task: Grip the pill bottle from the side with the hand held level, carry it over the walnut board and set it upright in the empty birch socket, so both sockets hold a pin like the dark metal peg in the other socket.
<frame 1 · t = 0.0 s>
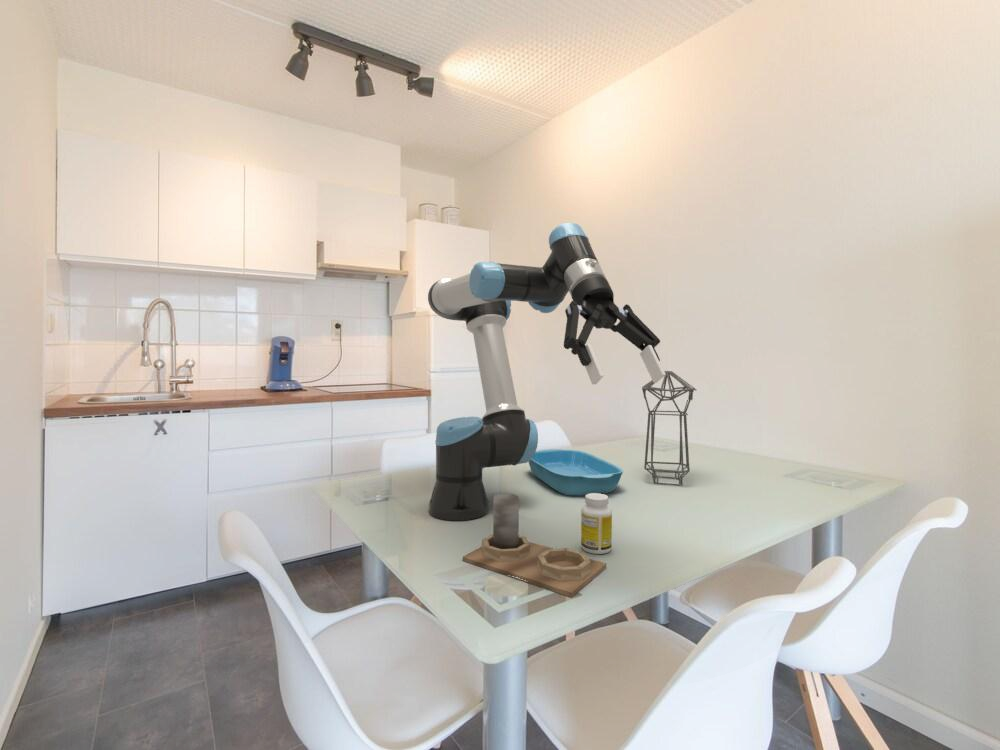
hand: (630, 379, 85), 36 cm above the table, tool tilted 35°, fingers open, 13 cm apart
geometric lantern: (665, 481, 155), on the table
socket board: (533, 564, 93), on the table
casserole dish: (571, 483, 152), on the table
pill bottle: (595, 549, 101), on the table
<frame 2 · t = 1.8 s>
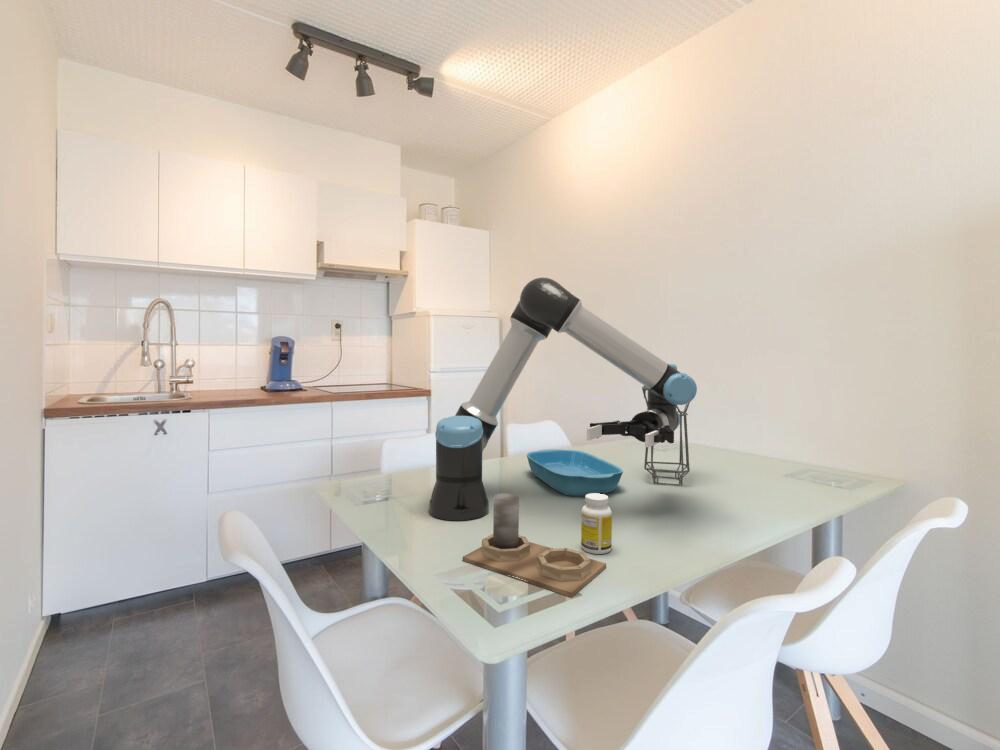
hand: (616, 437, 108), 22 cm above the table, tool horizontal, fingers open, 13 cm apart
nothing on the table moved.
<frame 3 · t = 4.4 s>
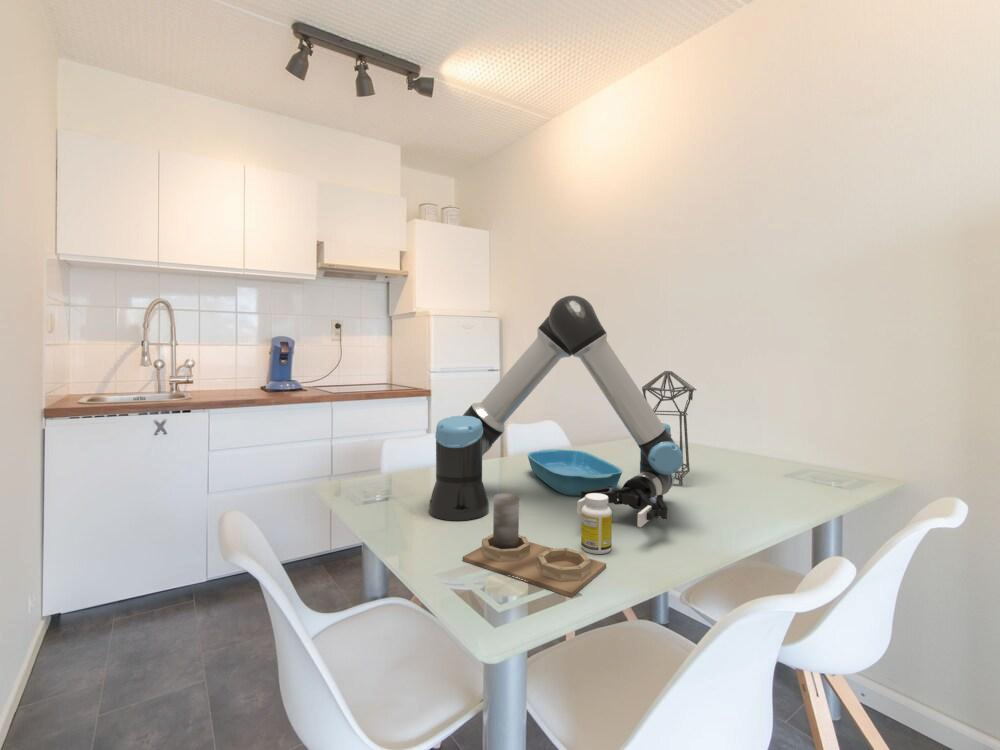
hand: (607, 513, 104), 6 cm above the table, tool horizontal, fingers open, 13 cm apart
nothing on the table moved.
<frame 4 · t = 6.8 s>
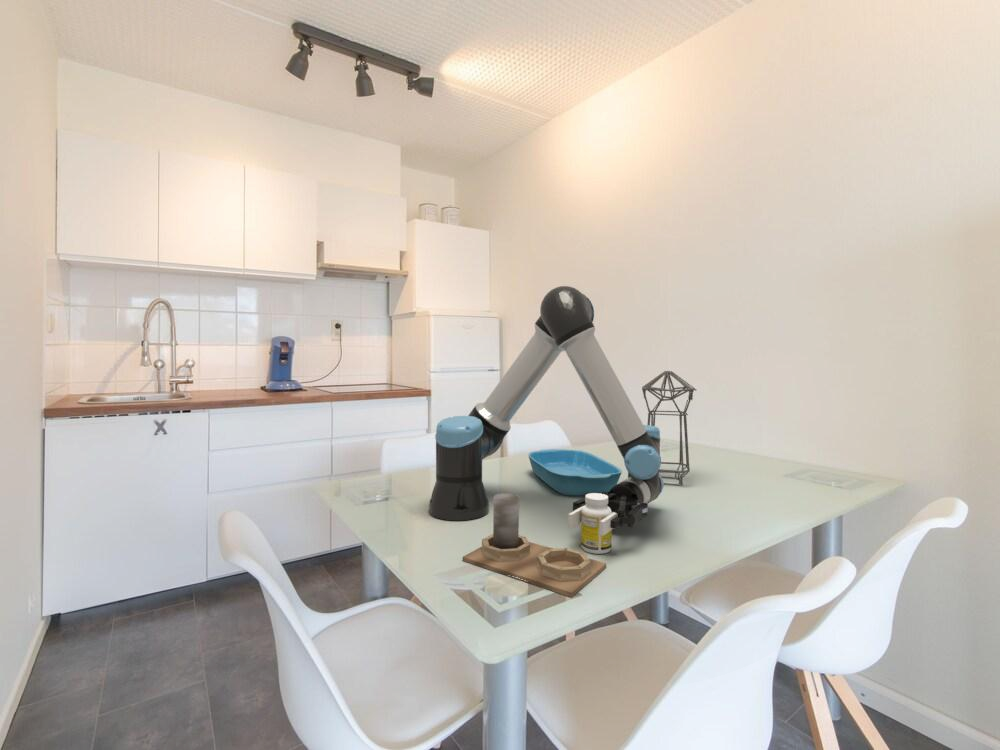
hand: (585, 524, 97), 7 cm above the table, tool horizontal, fingers closed on pill bottle, 6 cm apart
pill bottle: (596, 549, 101), on the table, touching gripper
everything else where it was.
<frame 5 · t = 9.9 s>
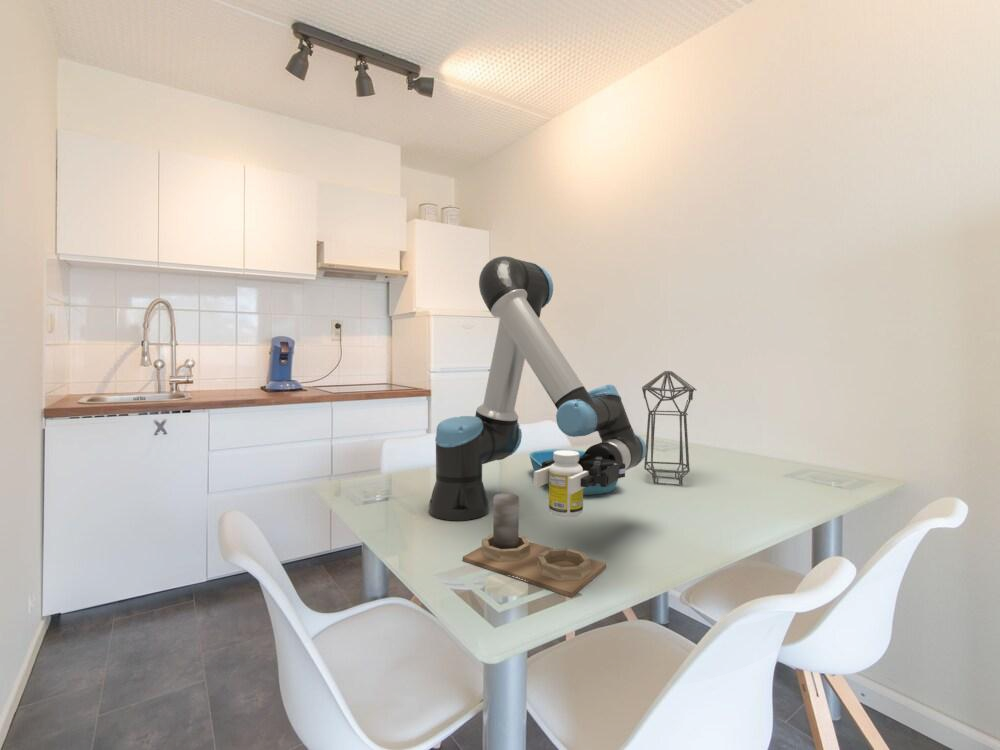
hand: (552, 482, 85), 18 cm above the table, tool horizontal, fingers closed on pill bottle, 6 cm apart
pill bottle: (565, 513, 89), point 11 cm above the table, touching gripper
everything else where it was.
when the fingers open (8 cm above the table, at t = 12.8 s): pill bottle stays where it is, resting on socket board.
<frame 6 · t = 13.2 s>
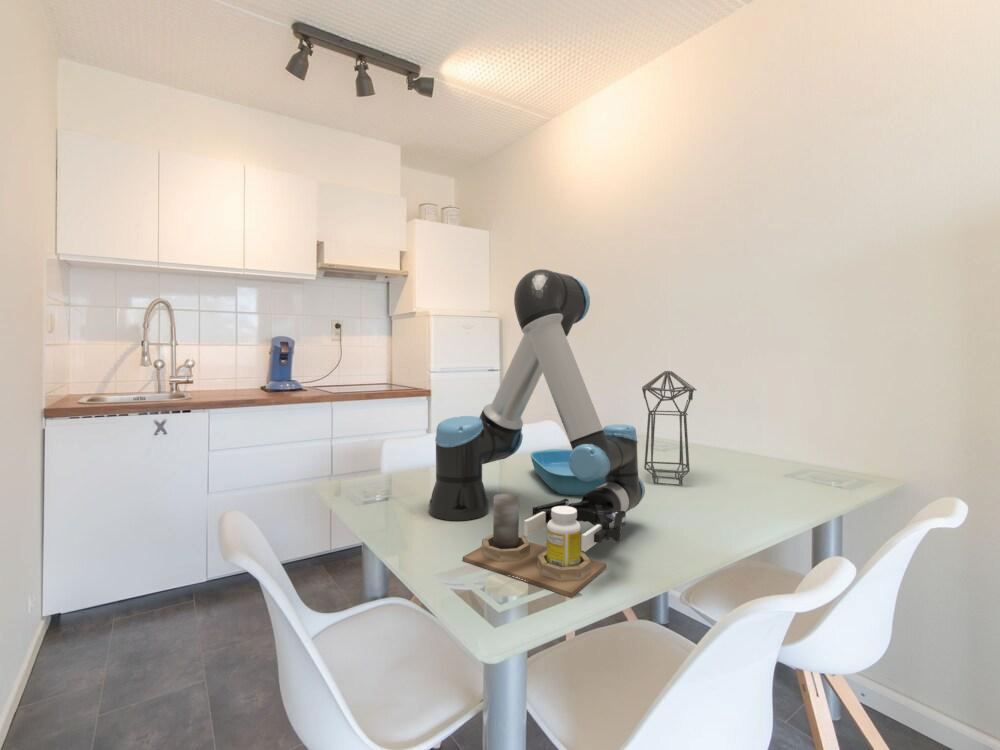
hand: (553, 535, 86), 8 cm above the table, tool horizontal, fingers open, 11 cm apart
pill bottle: (563, 569, 90), point 1 cm above the table, touching socket board
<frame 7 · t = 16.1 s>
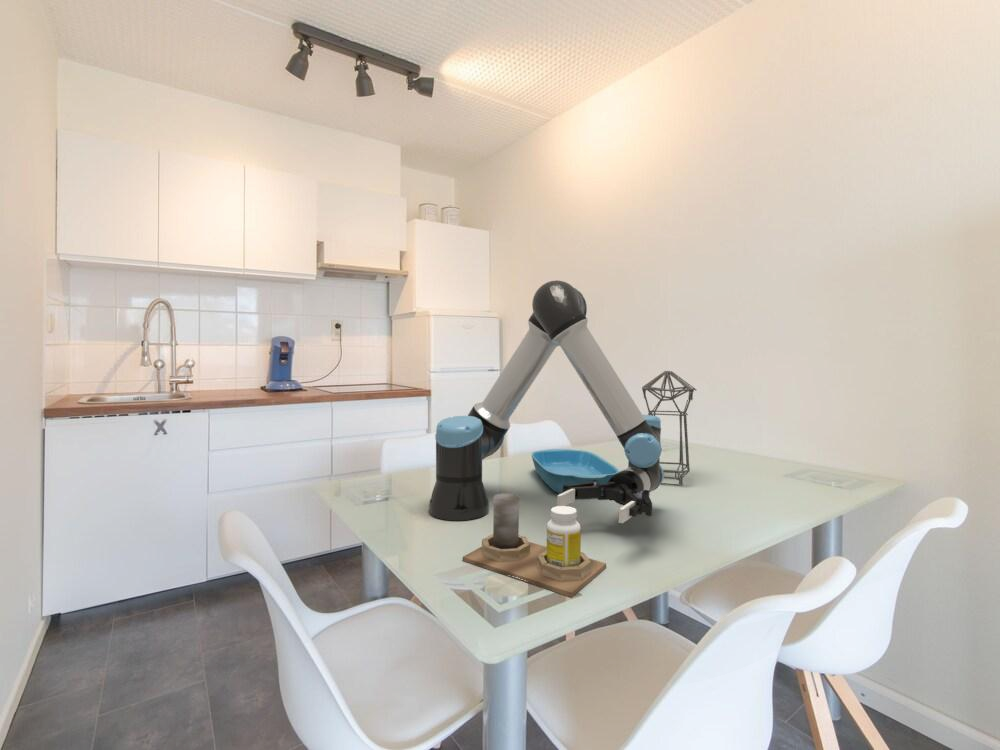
hand: (588, 508, 98), 9 cm above the table, tool horizontal, fingers open, 13 cm apart
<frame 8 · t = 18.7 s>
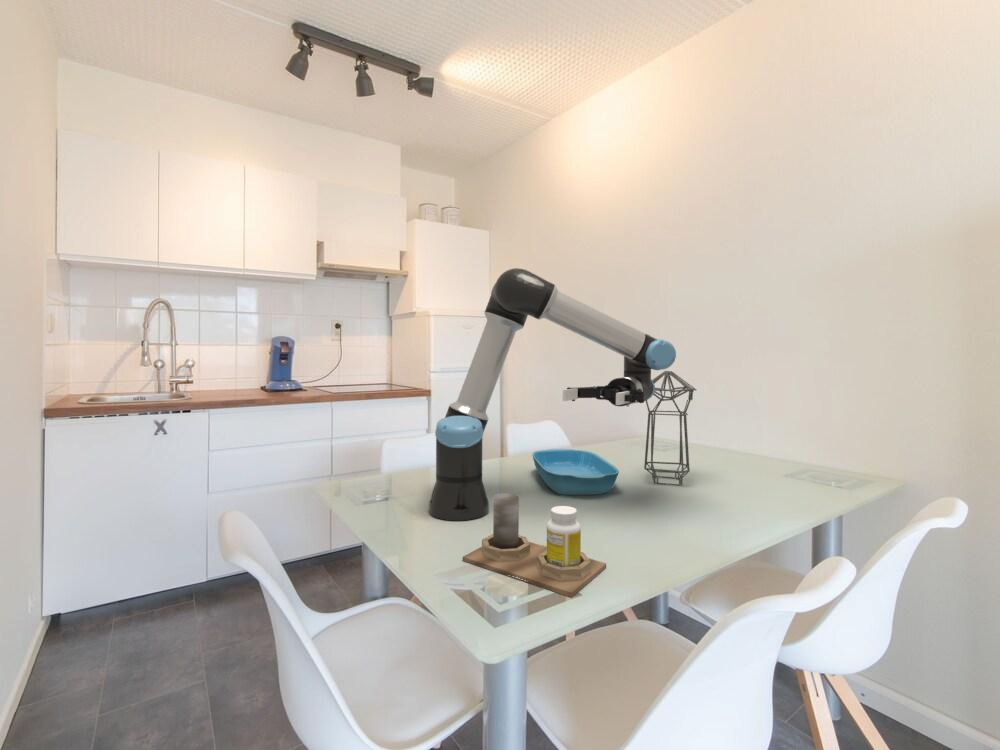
hand: (589, 397, 114), 30 cm above the table, tool horizontal, fingers open, 13 cm apart
at the end: pill bottle 0.1 cm from the target spot on the socket board, point 0.6 cm above the socket board's base; pill bottle tilted 0°; the gripper is holding nothing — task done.
